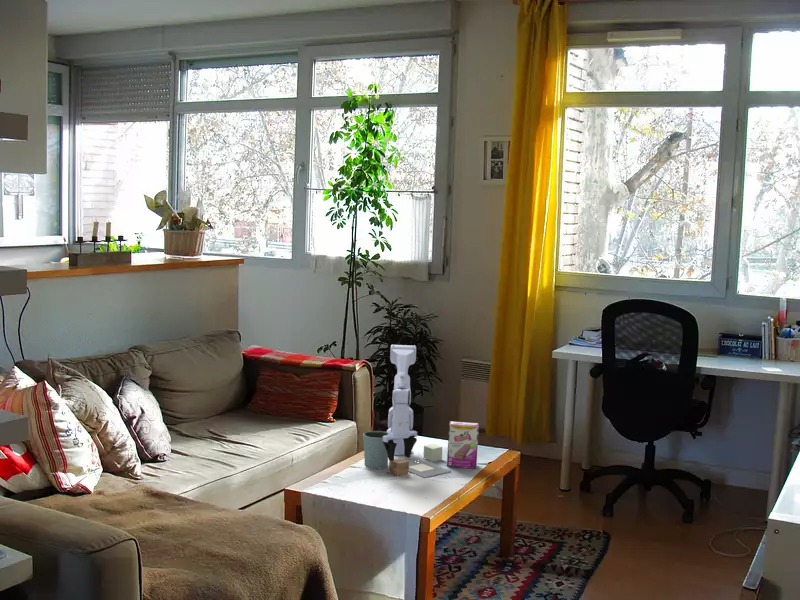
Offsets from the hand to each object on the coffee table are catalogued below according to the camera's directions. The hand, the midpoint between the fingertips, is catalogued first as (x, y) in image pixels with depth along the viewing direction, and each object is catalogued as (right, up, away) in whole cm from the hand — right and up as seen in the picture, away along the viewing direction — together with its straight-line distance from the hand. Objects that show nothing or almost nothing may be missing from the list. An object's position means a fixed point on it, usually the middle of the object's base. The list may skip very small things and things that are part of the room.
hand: (399, 458), depth 308 cm
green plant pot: (-9, -5, +10) cm, 14 cm away
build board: (+8, -5, +8) cm, 12 cm away
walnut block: (0, -6, +1) cm, 6 cm away
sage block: (+13, -4, +21) cm, 25 cm away
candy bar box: (+24, -5, +13) cm, 27 cm away
